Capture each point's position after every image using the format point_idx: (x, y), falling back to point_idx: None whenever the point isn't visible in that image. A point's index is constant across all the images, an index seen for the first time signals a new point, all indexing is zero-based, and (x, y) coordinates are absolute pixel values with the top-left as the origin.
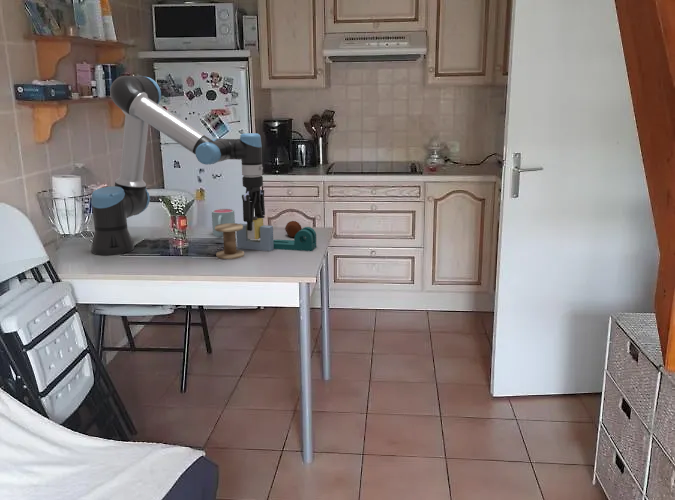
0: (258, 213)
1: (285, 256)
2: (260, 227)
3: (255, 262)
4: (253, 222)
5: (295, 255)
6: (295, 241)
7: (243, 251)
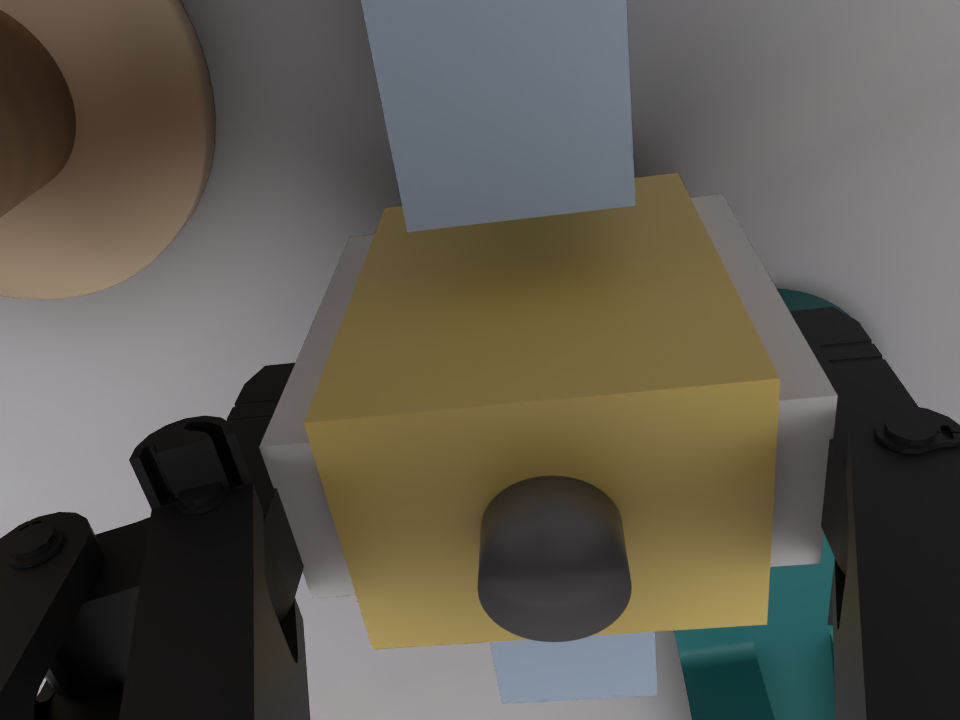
0: (841, 622)
1: None
2: None
3: (31, 519)
4: (318, 590)
5: (480, 685)
6: (690, 705)
7: (175, 231)
